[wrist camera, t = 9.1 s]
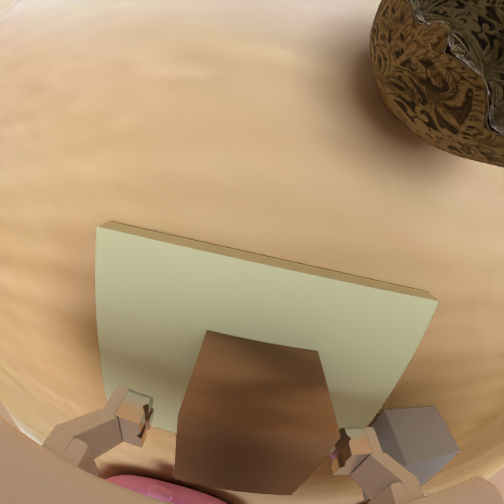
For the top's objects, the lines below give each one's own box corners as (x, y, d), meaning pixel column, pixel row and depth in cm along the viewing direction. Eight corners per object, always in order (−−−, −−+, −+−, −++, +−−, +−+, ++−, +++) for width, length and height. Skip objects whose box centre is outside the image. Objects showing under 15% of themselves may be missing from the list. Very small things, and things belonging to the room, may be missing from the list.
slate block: (434, 405, 14) (460, 450, 10) (401, 445, 16) (418, 488, 11) (383, 408, 14) (406, 464, 10) (352, 449, 16) (364, 500, 11)
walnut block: (317, 350, 12) (340, 437, 7) (286, 419, 13) (291, 494, 8) (207, 329, 11) (177, 415, 7) (195, 403, 13) (174, 478, 8)
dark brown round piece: (321, 17, 9) (369, -102, 1) (447, 45, 8) (542, -2, 1) (338, 166, 11) (471, 159, 3) (467, 175, 10) (592, 196, 3)
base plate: (427, 291, 12) (439, 301, 11) (343, 440, 15) (346, 453, 14) (110, 221, 12) (96, 226, 10) (115, 398, 15) (108, 410, 14)
